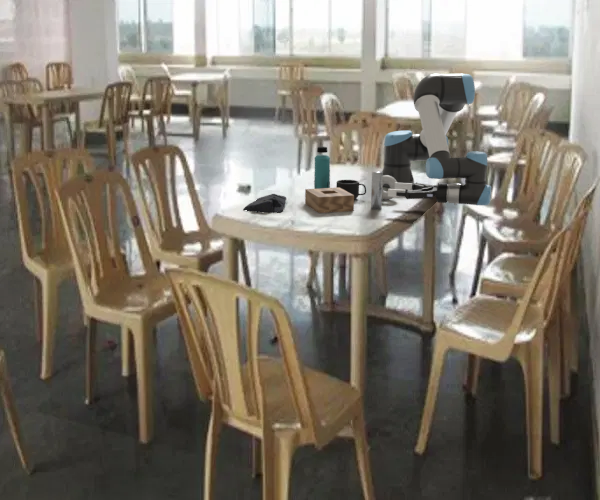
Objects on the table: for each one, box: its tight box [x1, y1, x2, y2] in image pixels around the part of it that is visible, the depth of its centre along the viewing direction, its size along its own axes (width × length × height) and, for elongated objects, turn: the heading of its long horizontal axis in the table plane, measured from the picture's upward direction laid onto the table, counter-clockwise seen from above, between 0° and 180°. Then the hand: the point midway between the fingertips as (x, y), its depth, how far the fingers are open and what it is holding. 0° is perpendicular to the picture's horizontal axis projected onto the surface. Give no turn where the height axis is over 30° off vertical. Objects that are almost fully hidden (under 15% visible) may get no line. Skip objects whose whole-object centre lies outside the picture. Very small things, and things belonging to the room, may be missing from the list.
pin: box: [370, 170, 383, 210], centre depth 320 cm, size 4×4×14 cm
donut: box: [382, 175, 397, 201], centre depth 336 cm, size 10×4×10 cm, turn 67°
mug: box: [335, 179, 367, 200], centre depth 337 cm, size 12×9×7 cm
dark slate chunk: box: [243, 193, 287, 214], centre depth 323 cm, size 15×22×5 cm
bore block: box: [304, 187, 355, 214], centre depth 321 cm, size 14×16×6 cm
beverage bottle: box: [313, 146, 331, 189], centre depth 342 cm, size 6×7×20 cm
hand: (391, 189), depth 317 cm, fingers open, 13 cm apart
